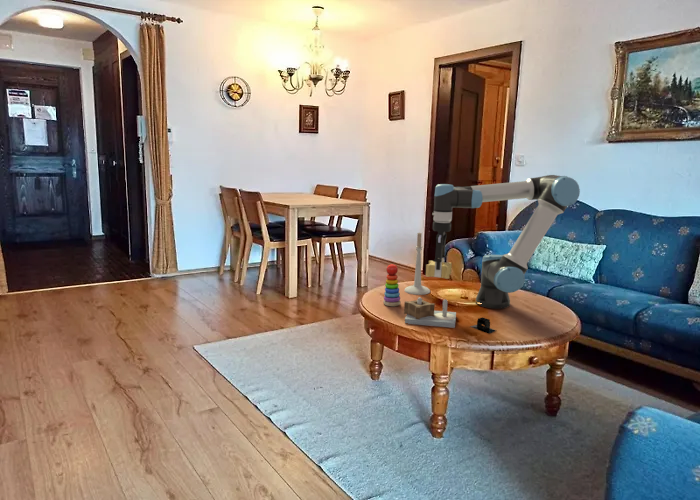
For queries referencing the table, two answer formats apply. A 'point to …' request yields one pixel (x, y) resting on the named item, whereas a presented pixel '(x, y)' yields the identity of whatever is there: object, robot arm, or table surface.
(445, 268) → the ochre cog
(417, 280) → the candlestick
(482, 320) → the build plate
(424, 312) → the walnut cog
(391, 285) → the stacking toy
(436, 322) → the board
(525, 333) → the table surface
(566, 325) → the table surface
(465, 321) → the table surface
